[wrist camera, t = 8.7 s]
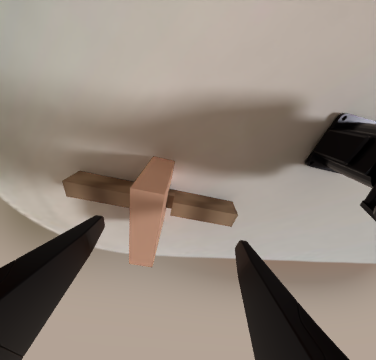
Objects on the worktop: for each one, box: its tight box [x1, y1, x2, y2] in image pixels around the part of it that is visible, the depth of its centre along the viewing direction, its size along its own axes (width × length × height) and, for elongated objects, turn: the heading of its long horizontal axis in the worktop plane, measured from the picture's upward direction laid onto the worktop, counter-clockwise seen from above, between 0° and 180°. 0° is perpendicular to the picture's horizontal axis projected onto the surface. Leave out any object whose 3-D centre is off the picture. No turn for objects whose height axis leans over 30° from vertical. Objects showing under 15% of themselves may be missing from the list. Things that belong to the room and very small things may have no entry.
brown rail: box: [62, 171, 238, 227], centre depth 20 cm, size 24×2×3 cm, turn 77°
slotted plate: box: [129, 156, 175, 267], centre depth 18 cm, size 3×12×8 cm, turn 167°
